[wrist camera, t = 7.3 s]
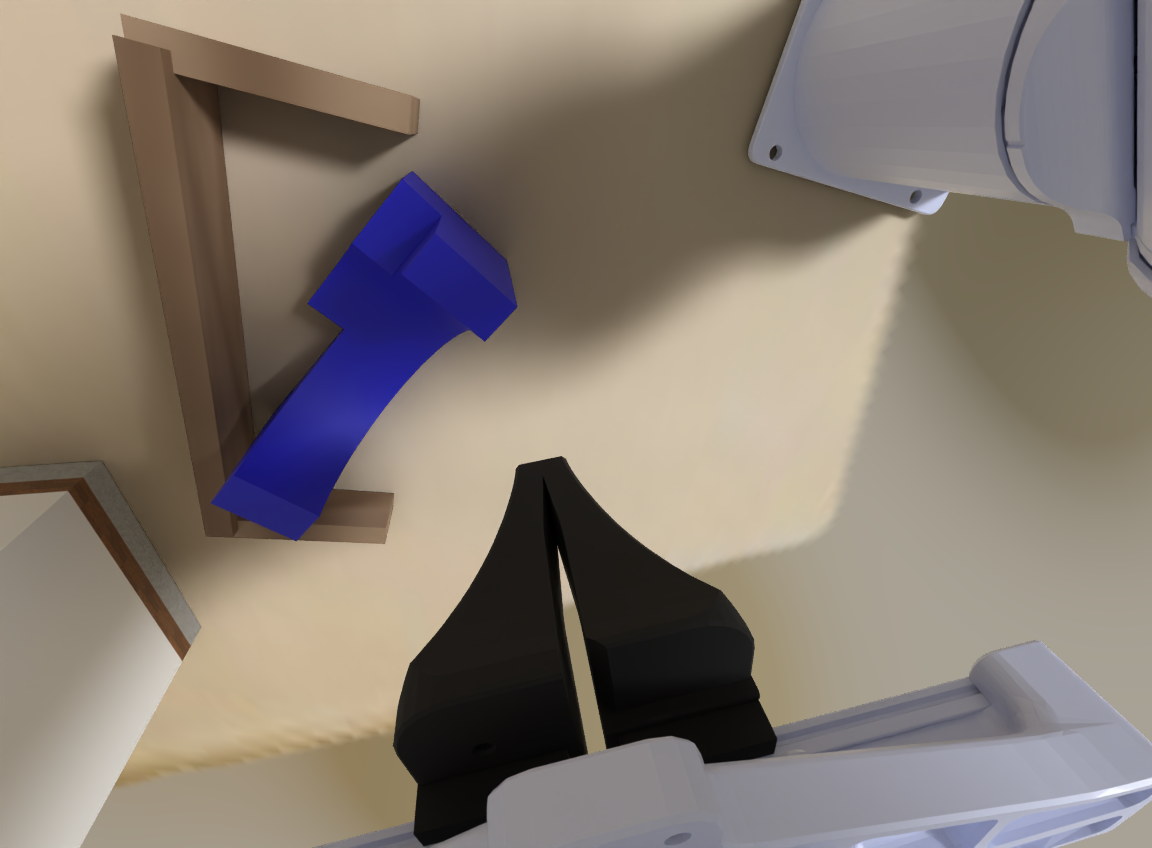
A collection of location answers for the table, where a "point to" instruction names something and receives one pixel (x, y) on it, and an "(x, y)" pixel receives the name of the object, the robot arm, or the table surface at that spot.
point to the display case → (76, 647)
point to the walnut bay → (224, 241)
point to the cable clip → (370, 350)
